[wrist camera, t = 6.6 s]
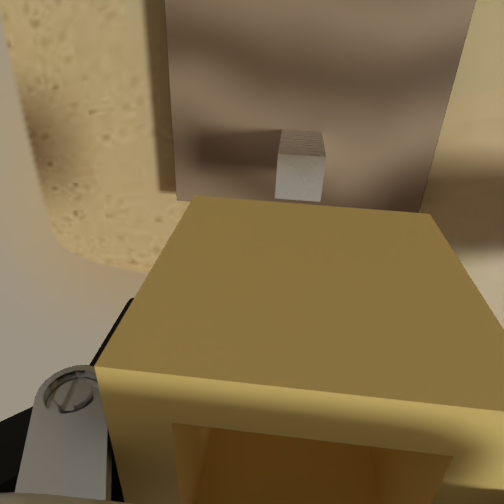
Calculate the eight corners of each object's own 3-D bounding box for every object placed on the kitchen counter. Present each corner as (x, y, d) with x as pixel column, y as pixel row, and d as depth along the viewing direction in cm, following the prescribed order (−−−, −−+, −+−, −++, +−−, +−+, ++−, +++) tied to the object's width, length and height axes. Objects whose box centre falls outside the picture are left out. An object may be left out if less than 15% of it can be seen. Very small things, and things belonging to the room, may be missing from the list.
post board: (164, -153, 20) (110, -219, 14) (504, -148, 19) (590, -218, 13) (182, 192, 29) (153, 234, 23) (411, 209, 28) (438, 258, 22)
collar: (194, 195, 11) (94, 366, 5) (429, 213, 10) (559, 418, 5) (200, 361, 14) (139, 570, 9) (381, 380, 13) (432, 613, 8)
